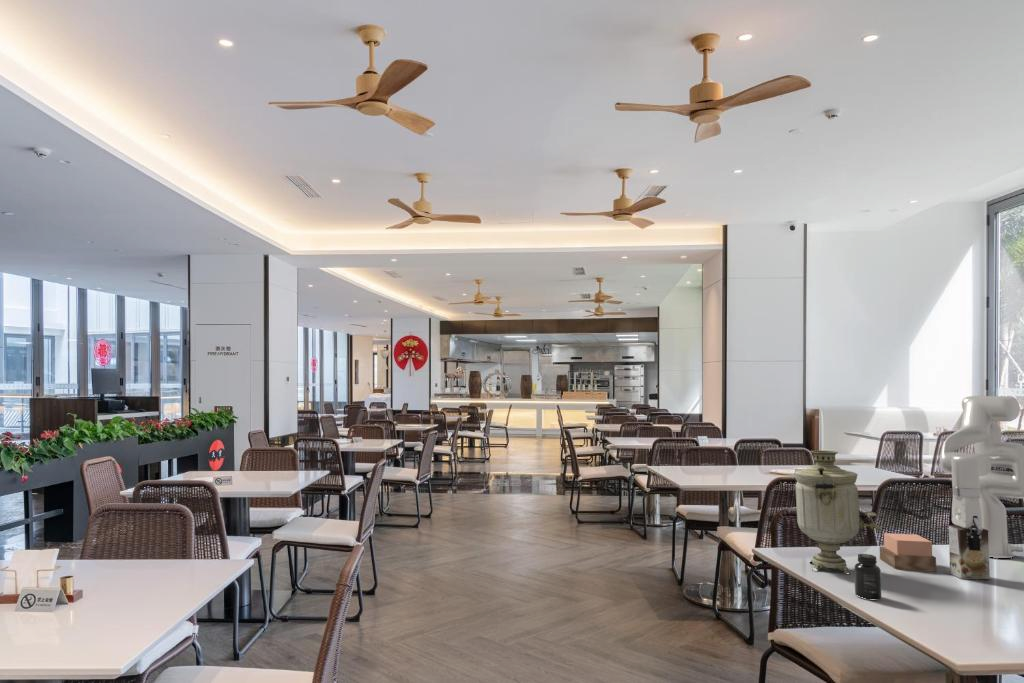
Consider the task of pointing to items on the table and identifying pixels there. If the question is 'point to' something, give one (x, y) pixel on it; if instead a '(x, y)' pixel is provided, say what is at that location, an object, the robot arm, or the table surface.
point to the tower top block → (908, 544)
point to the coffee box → (968, 555)
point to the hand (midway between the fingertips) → (968, 546)
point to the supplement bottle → (867, 577)
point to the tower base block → (907, 561)
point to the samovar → (828, 508)
